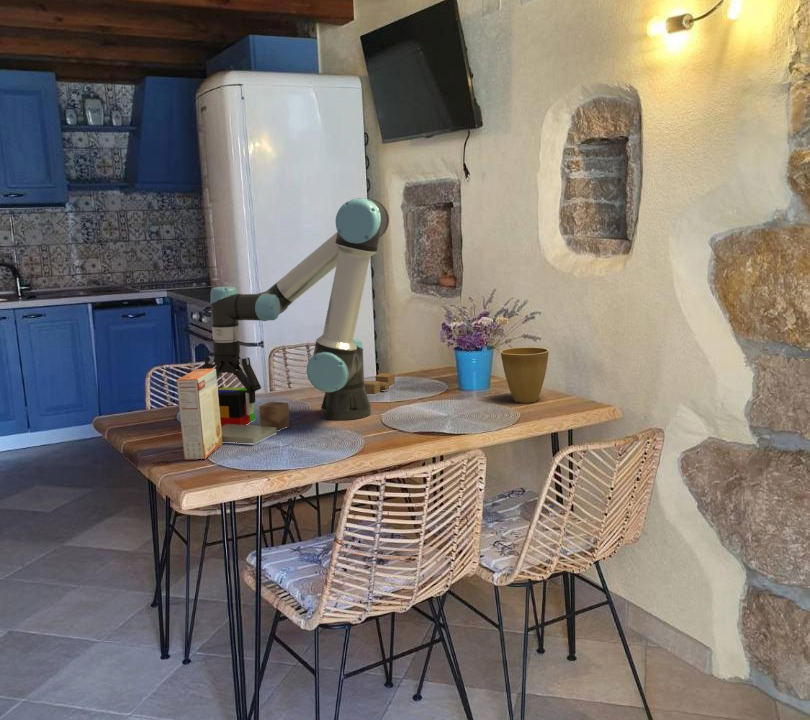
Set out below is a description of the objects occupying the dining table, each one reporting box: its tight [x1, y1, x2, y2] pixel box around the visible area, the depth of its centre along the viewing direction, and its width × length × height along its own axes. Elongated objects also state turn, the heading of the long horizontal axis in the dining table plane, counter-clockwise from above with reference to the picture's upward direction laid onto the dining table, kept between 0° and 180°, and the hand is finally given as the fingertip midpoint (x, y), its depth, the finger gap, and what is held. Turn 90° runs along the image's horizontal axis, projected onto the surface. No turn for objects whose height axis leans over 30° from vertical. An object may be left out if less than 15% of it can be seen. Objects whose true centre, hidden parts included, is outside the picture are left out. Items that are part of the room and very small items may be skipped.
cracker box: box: [176, 368, 223, 461], centre depth 208 cm, size 14×6×21 cm, turn 174°
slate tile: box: [221, 424, 278, 443], centre depth 223 cm, size 16×12×2 cm
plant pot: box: [500, 346, 550, 404], centre depth 255 cm, size 15×15×16 cm
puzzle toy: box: [218, 387, 256, 426], centre depth 238 cm, size 10×10×10 cm
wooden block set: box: [364, 372, 396, 394], centre depth 281 cm, size 17×6×18 cm
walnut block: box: [258, 401, 290, 430], centre depth 232 cm, size 6×6×7 cm
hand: (230, 412), depth 238 cm, fingers open, 13 cm apart
